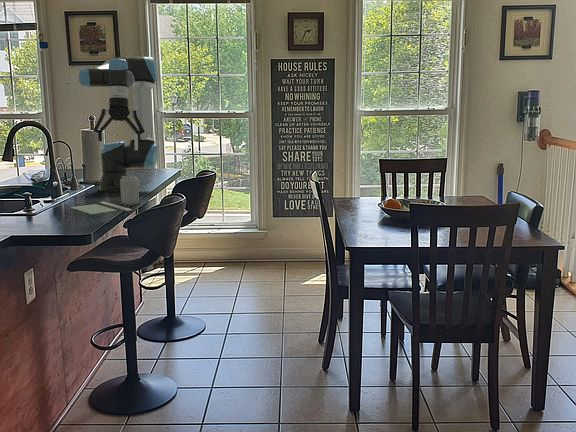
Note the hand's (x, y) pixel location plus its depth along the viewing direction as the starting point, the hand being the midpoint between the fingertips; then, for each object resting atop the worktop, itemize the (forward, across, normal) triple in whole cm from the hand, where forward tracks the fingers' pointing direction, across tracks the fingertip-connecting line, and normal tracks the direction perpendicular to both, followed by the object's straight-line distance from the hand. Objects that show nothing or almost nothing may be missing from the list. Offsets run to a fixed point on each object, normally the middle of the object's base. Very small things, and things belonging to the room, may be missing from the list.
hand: (119, 150), depth 247 cm
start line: (+24, -2, +2) cm, 24 cm away
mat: (+24, -11, -1) cm, 27 cm away
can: (+23, +5, +6) cm, 24 cm away
